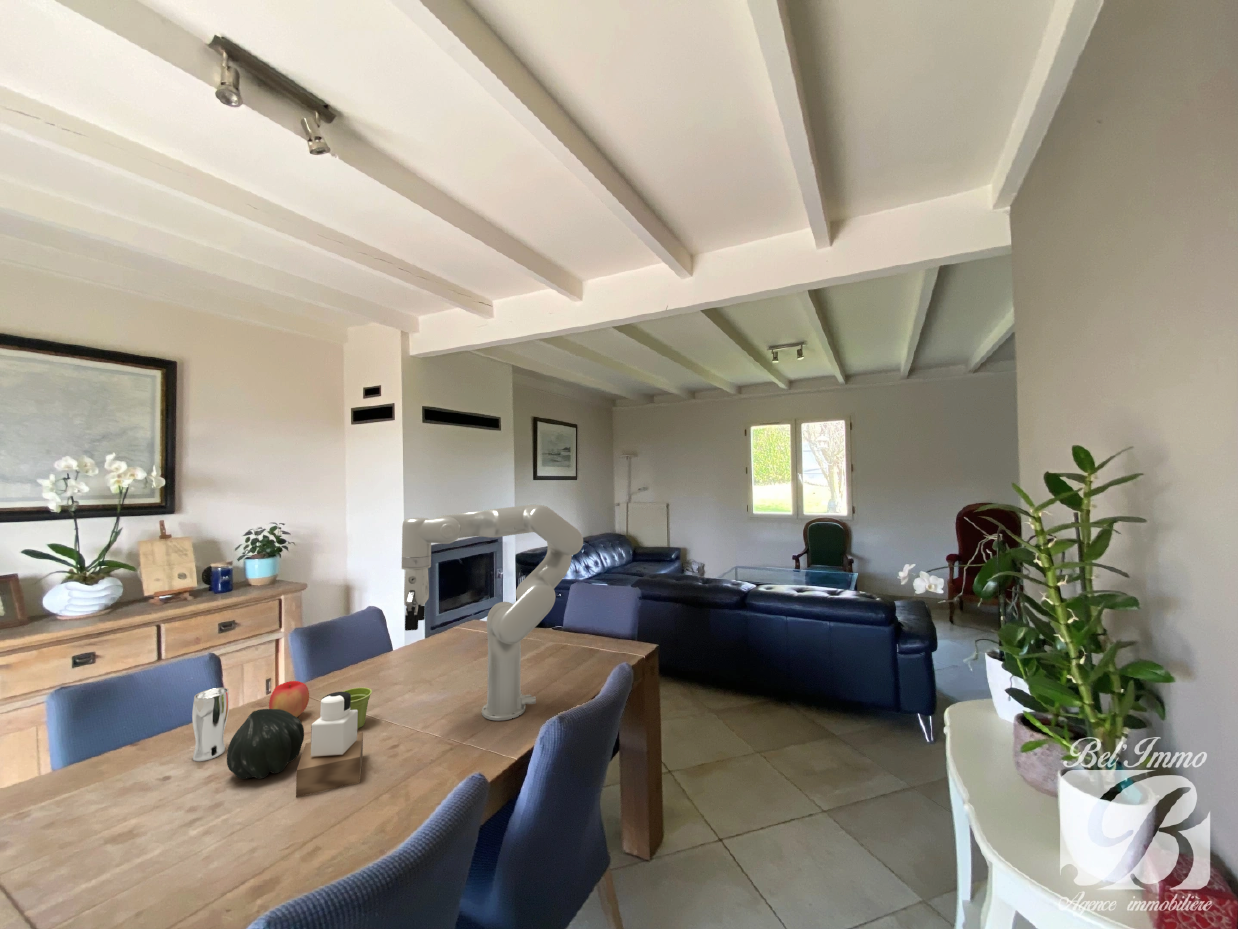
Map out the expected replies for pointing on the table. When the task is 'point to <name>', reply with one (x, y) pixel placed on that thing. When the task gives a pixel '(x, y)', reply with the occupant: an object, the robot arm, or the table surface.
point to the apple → (290, 697)
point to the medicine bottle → (334, 726)
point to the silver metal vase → (210, 723)
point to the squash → (265, 743)
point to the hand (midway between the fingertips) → (415, 625)
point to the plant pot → (359, 703)
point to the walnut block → (329, 769)
